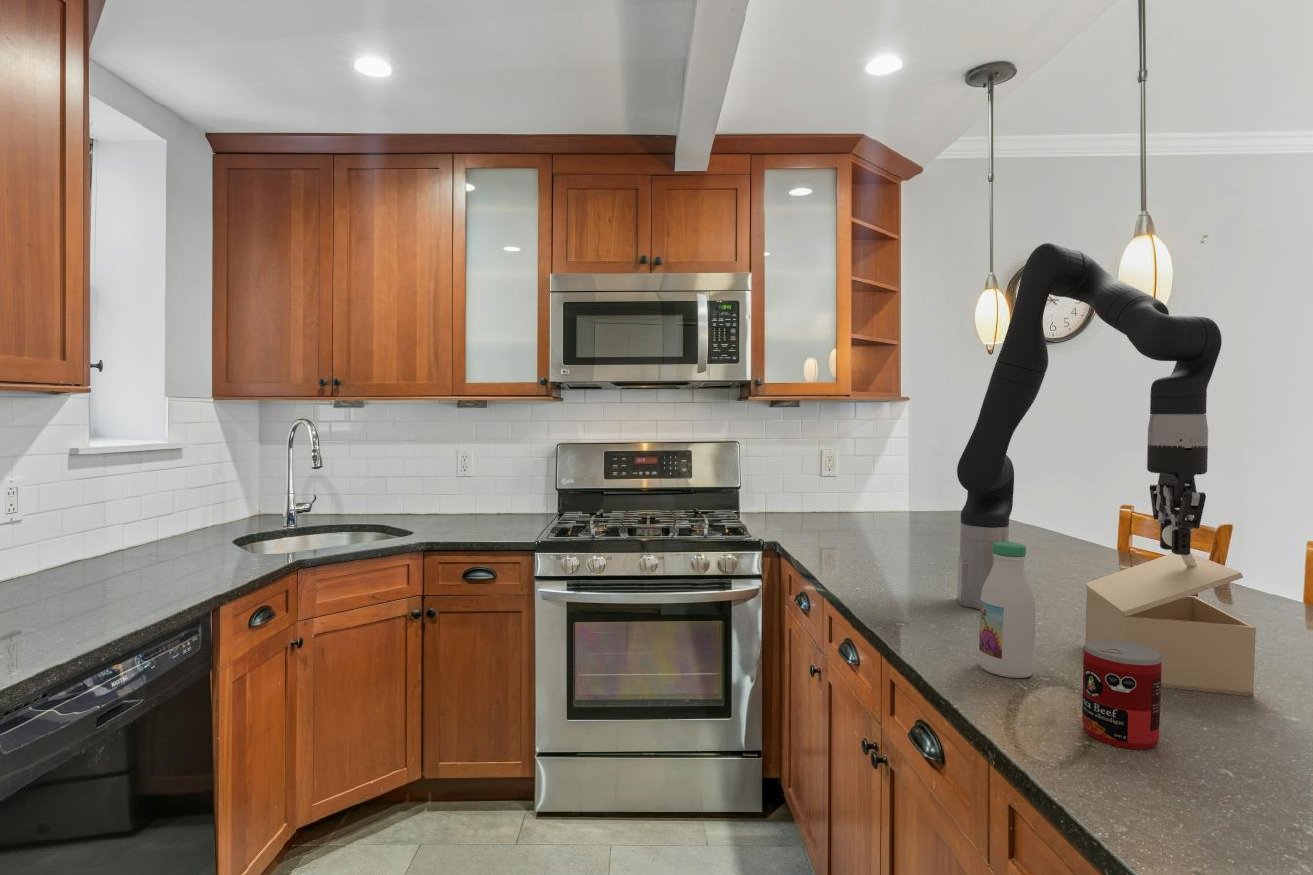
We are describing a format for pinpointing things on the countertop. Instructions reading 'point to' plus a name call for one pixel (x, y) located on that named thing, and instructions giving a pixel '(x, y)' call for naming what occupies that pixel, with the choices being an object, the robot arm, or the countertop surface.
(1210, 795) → the countertop surface
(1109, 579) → the flap
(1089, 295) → the robot arm
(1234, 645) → the carton
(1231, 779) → the countertop surface
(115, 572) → the countertop surface
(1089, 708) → the canned food
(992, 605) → the milk bottle
